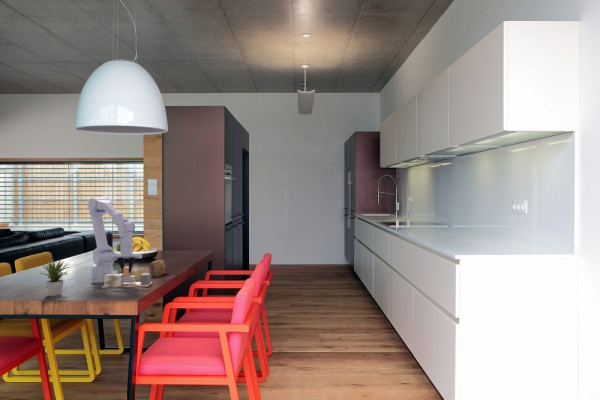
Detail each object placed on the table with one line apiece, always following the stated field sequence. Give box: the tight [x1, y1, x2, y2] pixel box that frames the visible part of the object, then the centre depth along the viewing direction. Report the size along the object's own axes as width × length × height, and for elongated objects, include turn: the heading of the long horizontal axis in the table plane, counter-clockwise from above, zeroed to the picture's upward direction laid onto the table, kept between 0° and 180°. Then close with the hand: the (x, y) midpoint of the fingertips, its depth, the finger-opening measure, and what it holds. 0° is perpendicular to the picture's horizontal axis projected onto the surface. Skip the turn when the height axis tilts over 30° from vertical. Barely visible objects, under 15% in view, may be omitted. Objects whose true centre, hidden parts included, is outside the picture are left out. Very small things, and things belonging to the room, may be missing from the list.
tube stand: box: [101, 273, 153, 289], centre depth 237 cm, size 22×10×5 cm, turn 97°
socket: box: [140, 272, 151, 285], centre depth 238 cm, size 4×6×5 cm, turn 7°
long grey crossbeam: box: [122, 266, 137, 283], centre depth 236 cm, size 14×3×8 cm, turn 97°
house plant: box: [39, 258, 71, 297], centre depth 213 cm, size 14×14×16 cm
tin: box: [149, 259, 167, 277], centre depth 268 cm, size 15×3×8 cm, turn 168°
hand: (126, 272), depth 237 cm, fingers closed on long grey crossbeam, 3 cm apart
